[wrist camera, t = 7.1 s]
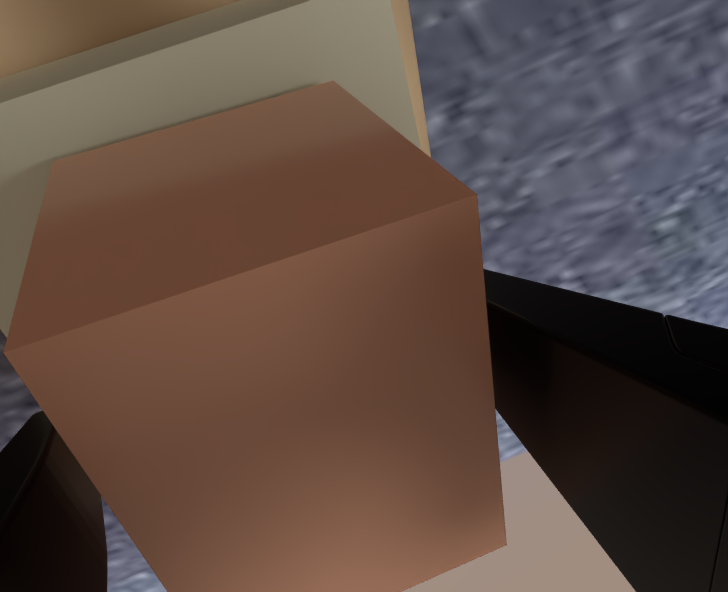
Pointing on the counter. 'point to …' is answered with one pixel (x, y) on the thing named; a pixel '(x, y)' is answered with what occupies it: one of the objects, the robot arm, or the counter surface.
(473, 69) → the counter surface
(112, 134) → the tower top
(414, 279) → the terracotta brick
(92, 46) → the tower base
